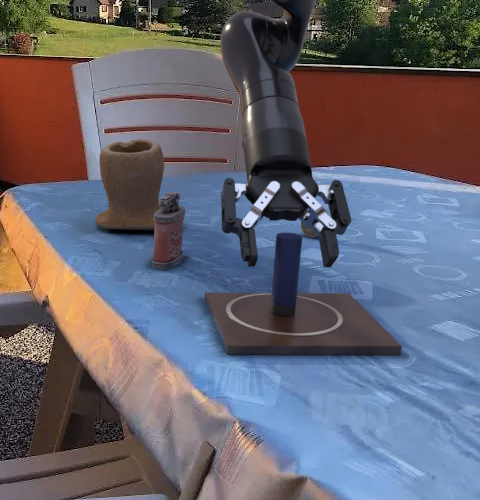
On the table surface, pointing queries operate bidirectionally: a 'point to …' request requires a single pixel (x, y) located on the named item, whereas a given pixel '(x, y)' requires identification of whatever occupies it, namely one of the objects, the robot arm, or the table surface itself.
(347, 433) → the table surface
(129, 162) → the stone cup
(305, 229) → the lime
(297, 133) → the robot arm
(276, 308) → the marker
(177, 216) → the lighter
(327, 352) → the brown wooden board
